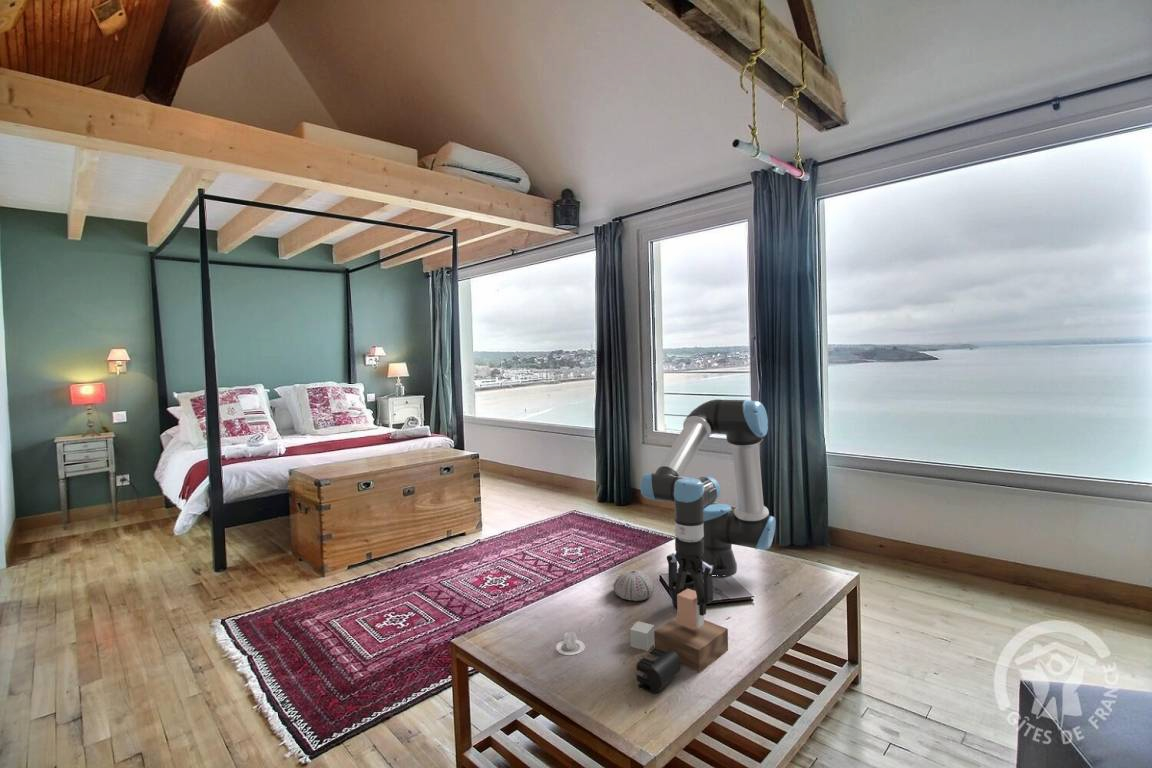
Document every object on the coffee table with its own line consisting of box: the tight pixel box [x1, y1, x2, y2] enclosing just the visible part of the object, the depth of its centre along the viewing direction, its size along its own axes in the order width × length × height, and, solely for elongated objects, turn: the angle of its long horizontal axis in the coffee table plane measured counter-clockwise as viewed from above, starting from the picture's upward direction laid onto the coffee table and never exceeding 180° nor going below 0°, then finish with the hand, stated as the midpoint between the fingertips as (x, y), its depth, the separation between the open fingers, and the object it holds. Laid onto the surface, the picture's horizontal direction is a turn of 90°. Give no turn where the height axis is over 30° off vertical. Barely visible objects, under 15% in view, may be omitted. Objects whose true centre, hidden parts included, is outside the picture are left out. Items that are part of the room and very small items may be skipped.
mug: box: [669, 572, 696, 611], centre depth 172 cm, size 8×12×10 cm
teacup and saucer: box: [555, 631, 586, 656], centre depth 154 cm, size 9×8×4 cm
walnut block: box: [654, 615, 729, 673], centre depth 149 cm, size 14×14×6 cm
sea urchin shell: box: [612, 569, 655, 602], centre depth 184 cm, size 13×14×8 cm
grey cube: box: [629, 620, 655, 652], centre depth 154 cm, size 5×5×5 cm
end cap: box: [636, 647, 682, 694], centre depth 136 cm, size 10×7×7 cm
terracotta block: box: [676, 589, 698, 630], centre depth 149 cm, size 5×5×8 cm
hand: (690, 621), depth 149 cm, fingers closed on terracotta block, 5 cm apart
